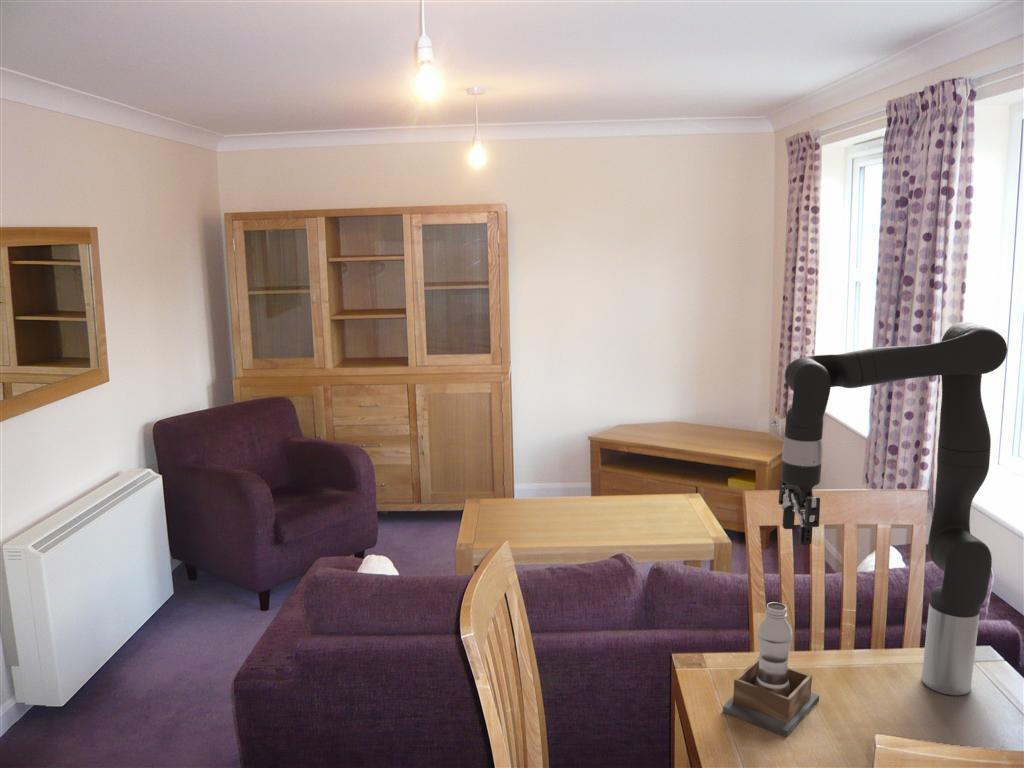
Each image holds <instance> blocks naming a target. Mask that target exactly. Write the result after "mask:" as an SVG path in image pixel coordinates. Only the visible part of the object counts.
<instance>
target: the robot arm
mask: <svg viewBox="0 0 1024 768" xmlns="http://www.w3.org/2000/svg"><path fill="white" fill-rule="evenodd" d="M1007 353H1008V345H1007V342H1006V340H1005V338H1004V337H1003V336H1002V335H1001V333H999V332H997V331H996V330H994V329H992V328H990V327H987V326H984V325H981V324H978V323H972V322H968V321H966V322H965V321H961V322H958V323H954V324H953V325H951V326H950V327H949V328H948V329H947V330H946V332H944V334H943V336H942V339H941V341H939V342H933V343H927V344H920V345H919V344H918V345H900V346H899V345H898V346H896V345H894V346H892V345H891V346H881V347H879V346H878V347H872V348H865V349H861V350H860V349H859V350H854V351H850V352H846V353H845V352H844V353H838V354H819V355H810V356H809V355H808V356H804V357H799V358H796V359H795V360H793V361H791V362H790V363H789V364H788V366H787V367H786V368H785V372H784V379H785V381H786V384H787V386H788V387H789V388H791V389H792V400H791V401H792V403H791V407H790V408H789V409H788V410H787V412H786V415H785V416H786V417H785V423H784V424H785V426H784V428H785V429H784V440H783V443H782V452H781V454H782V455H781V468H780V480H779V481H780V482H779V492H778V505H781V509H782V511H783V512H782V524H781V525H782V526H781V527H782V528H783V529H784V530H793V529H794V528H795V516H797V517H798V519H799V524H800V527H799V538H798V539H799V540H798V542H799V544H801V545H802V546H809V545H811V544H812V540H813V538H812V537H813V528H818V527H820V516H821V515H820V511H821V509H820V508H821V498H820V496H814V495H813V488H814V487H815V486H818V485H819V484H820V483H821V477H822V464H823V462H822V461H823V431H824V430H823V429H824V416H825V412H826V410H827V407H828V402H829V398H830V394H831V388H836V387H839V388H840V387H841V388H845V389H857V388H863V387H867V386H874V385H881V384H885V383H890V382H891V383H892V382H896V381H897V382H898V381H902V380H909V379H916V378H917V379H918V378H924V377H934V376H935V377H938V376H940V377H941V401H940V402H941V404H940V413H939V430H938V440H937V455H936V456H937V457H936V463H937V464H936V466H937V467H936V480H935V494H934V495H935V497H934V506H933V515H932V519H931V524H930V529H929V535H928V542H927V549H928V555H929V558H930V560H931V561H932V562H933V564H935V565H936V566H937V567H938V568H939V569H940V570H942V571H943V580H942V585H939V586H936V587H933V588H932V590H931V591H930V595H929V603H928V611H927V621H926V622H927V623H926V633H925V642H924V643H925V644H924V650H923V652H924V653H923V661H922V671H921V681H922V683H923V684H924V685H925V686H926V687H928V688H929V689H930V690H933V691H935V692H938V693H939V694H944V695H948V696H964V695H967V694H969V693H970V692H971V690H972V680H973V673H974V667H975V666H974V664H975V657H976V656H975V655H976V647H977V641H978V640H977V638H978V631H979V621H980V614H981V608H982V605H983V604H984V602H985V600H986V597H987V594H988V589H989V585H990V584H989V583H990V578H991V572H992V566H993V565H992V563H993V560H992V558H993V557H992V552H991V550H990V549H989V547H988V546H987V544H986V543H984V541H982V540H980V539H978V538H977V537H976V536H974V535H973V534H971V529H970V528H971V527H970V525H971V522H970V521H971V508H972V503H973V500H974V498H975V496H976V494H977V493H978V492H979V490H980V488H981V487H982V486H983V484H984V482H985V480H986V478H987V476H988V473H989V469H990V461H991V460H990V459H991V447H992V446H991V444H992V439H991V431H990V427H989V424H988V419H987V414H986V412H985V408H984V403H983V400H982V391H981V389H982V388H981V387H982V386H981V385H982V375H985V374H989V373H991V372H994V371H995V370H997V369H998V368H999V367H1000V366H1001V365H1002V364H1003V363H1004V362H1005V360H1006V357H1007Z"/></svg>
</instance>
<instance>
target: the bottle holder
mask: <svg viewBox="0 0 1024 768" xmlns="http://www.w3.org/2000/svg"><path fill="white" fill-rule="evenodd" d="M758 667H759V656H758V657H757V658H756V659H755V660H754V661H753V662H752V663H751V664H750V665H748V667H746V668H745V669H744V670H743V671H742V672H741V673H740V674H738V675H737V676H736V677H735V678H734V680H733V696H732V697H731V698H730V699H729V700H728V701H727V702H726V703H725V704H724V705H723V706H722V712H724V713H726V714H728V715H731V716H733V717H735V718H738V719H740V720H743V721H745V722H747V723H751V724H754V725H755V726H758V727H760V728H764V729H765V730H768V731H770V732H773V733H776V734H778V735H780V736H783V737H786V738H787V737H788V736H789V735H790V734H791V733H792V732H793V731H794V730H795V728H797V726H798V725H799V724H800V723H799V722H801V721H803V720H804V718H805V717H806V716H807V715H808V714H809V713H810V711H811V710H812V709H813V708H814V707H815V706H816V705H817V704H818V702H819V701H820V694H818V693H815V692H812V684H813V683H812V682H813V681H812V680H813V675H811V674H808V673H805V672H804V671H803V672H802V671H800V670H797V669H794V668H790V667H788V679H789V685H790V693H789V696H788V697H785V696H782V695H779V694H777V693H774V692H771V691H769V690H766V689H763V688H761V687H758V686H755V681H756V677H757V674H758ZM798 723H799V724H798ZM791 731H792V732H791Z"/></svg>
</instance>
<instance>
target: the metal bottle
mask: <svg viewBox="0 0 1024 768" xmlns="http://www.w3.org/2000/svg"><path fill="white" fill-rule="evenodd" d="M787 611H788V609H787V605H786V604H783V603H780V602H775V601H773V602H772V601H771V602H769V603H767V605H766V610H765V615H766V617H764V618H763V619H762V620H761V621H760V623H759V624H758V626H757V639H758V647H759V650H758V651H759V652H758V653H759V656H758V657H759V667H758V674H757V677H756V681H755V686H758V687H761V688H763V689H766V690H769V691H771V692H774V693H777V694H779V695H782V696H785V697H788V696H789V693H790V685H789V679H788V668H789V666H788V665H789V656H790V649H791V644H792V639H793V633H794V632H793V630H792V626H791V625H790V623H789V622H788V620H787V619H786V618H787V617H788V612H787Z"/></svg>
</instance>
